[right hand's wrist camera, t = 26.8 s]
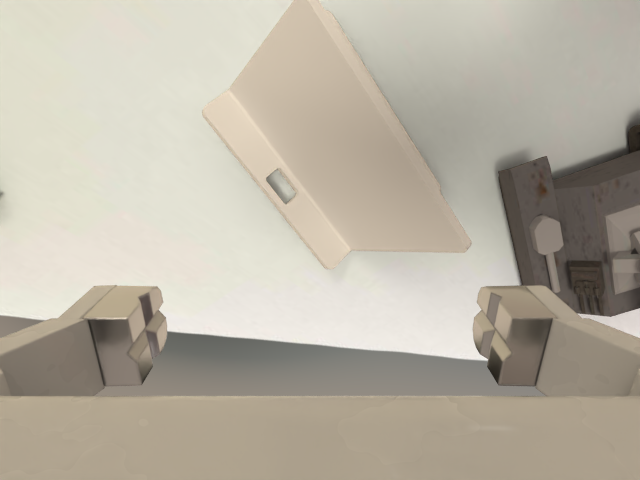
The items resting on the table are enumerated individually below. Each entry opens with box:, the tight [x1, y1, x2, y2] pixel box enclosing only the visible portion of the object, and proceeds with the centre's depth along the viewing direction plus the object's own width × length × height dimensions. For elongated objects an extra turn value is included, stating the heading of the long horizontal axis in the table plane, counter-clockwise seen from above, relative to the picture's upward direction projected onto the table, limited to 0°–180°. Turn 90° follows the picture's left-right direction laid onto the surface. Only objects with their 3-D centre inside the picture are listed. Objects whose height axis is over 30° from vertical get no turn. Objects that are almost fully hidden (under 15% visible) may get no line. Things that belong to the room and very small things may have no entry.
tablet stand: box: [202, 0, 472, 269], centre depth 41 cm, size 18×25×17 cm
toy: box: [499, 124, 640, 317], centre depth 45 cm, size 25×20×15 cm
